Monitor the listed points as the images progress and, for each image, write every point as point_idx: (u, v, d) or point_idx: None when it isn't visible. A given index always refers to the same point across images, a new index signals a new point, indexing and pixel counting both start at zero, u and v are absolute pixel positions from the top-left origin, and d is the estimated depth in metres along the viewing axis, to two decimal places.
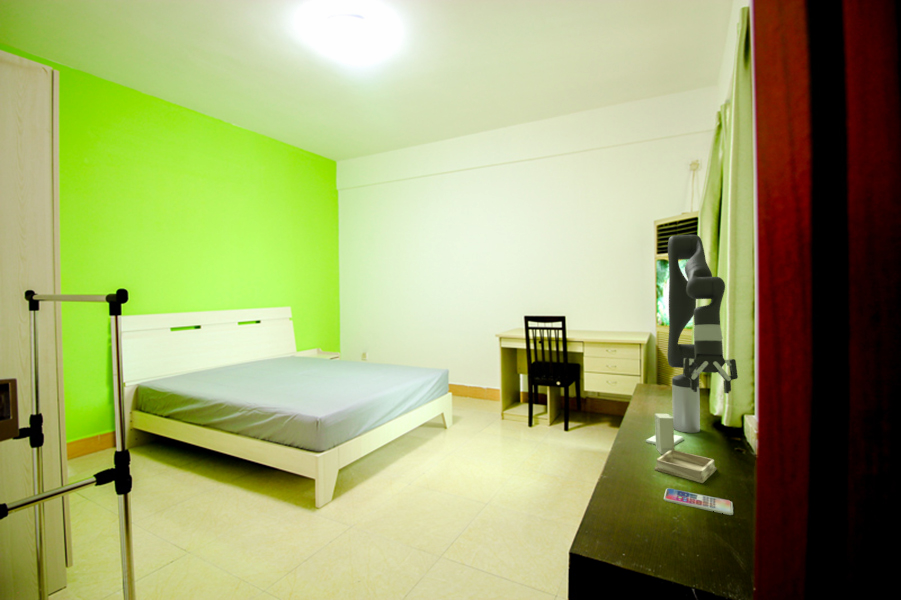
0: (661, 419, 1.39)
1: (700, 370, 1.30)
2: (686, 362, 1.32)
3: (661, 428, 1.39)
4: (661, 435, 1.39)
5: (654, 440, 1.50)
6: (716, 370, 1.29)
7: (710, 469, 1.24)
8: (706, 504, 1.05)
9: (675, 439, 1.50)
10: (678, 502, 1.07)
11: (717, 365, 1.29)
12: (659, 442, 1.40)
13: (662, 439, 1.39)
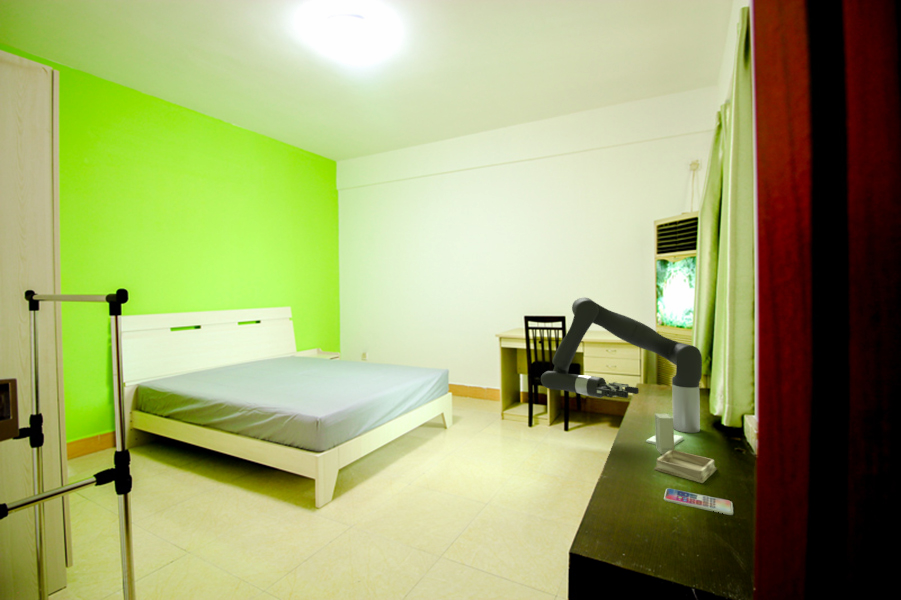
0: (661, 419, 1.39)
1: None
2: None
3: (661, 428, 1.39)
4: (661, 435, 1.39)
5: (654, 440, 1.50)
6: None
7: (710, 469, 1.24)
8: (707, 504, 1.05)
9: (675, 439, 1.51)
10: (678, 502, 1.07)
11: (608, 395, 1.54)
12: (659, 442, 1.40)
13: (662, 439, 1.39)
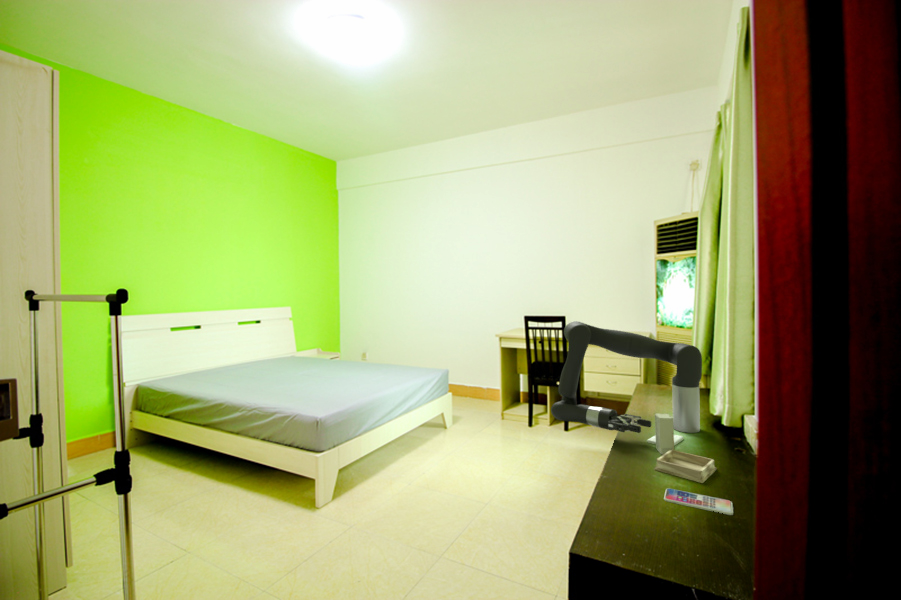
0: (661, 419, 1.39)
1: None
2: None
3: (661, 428, 1.39)
4: (661, 435, 1.39)
5: (655, 440, 1.50)
6: None
7: (710, 469, 1.24)
8: (707, 504, 1.05)
9: (675, 439, 1.51)
10: (678, 502, 1.06)
11: None
12: (659, 442, 1.40)
13: (662, 439, 1.39)
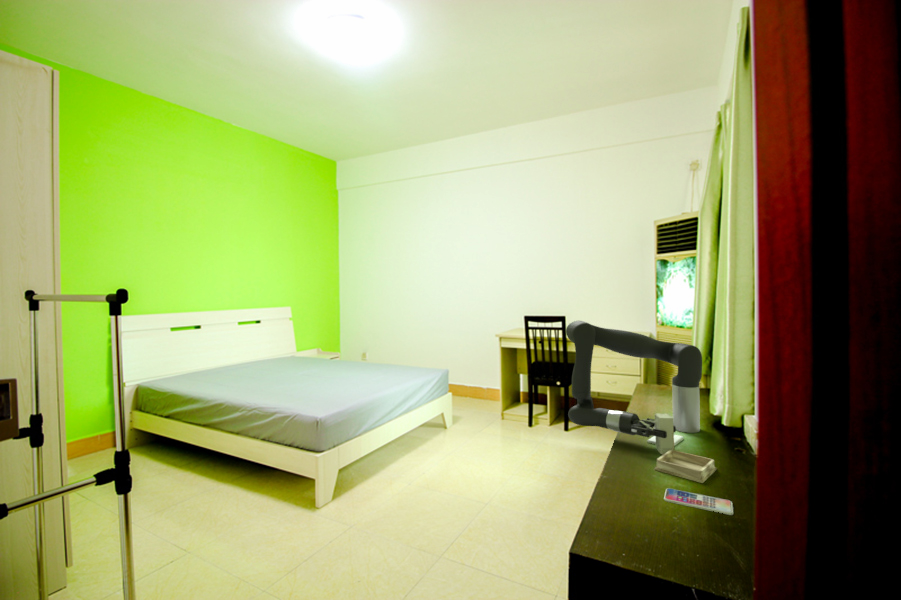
0: (661, 419, 1.39)
1: None
2: None
3: (661, 428, 1.39)
4: None
5: (655, 440, 1.50)
6: None
7: (710, 469, 1.24)
8: (707, 504, 1.05)
9: (676, 439, 1.51)
10: (678, 502, 1.06)
11: None
12: (659, 442, 1.40)
13: (662, 439, 1.39)
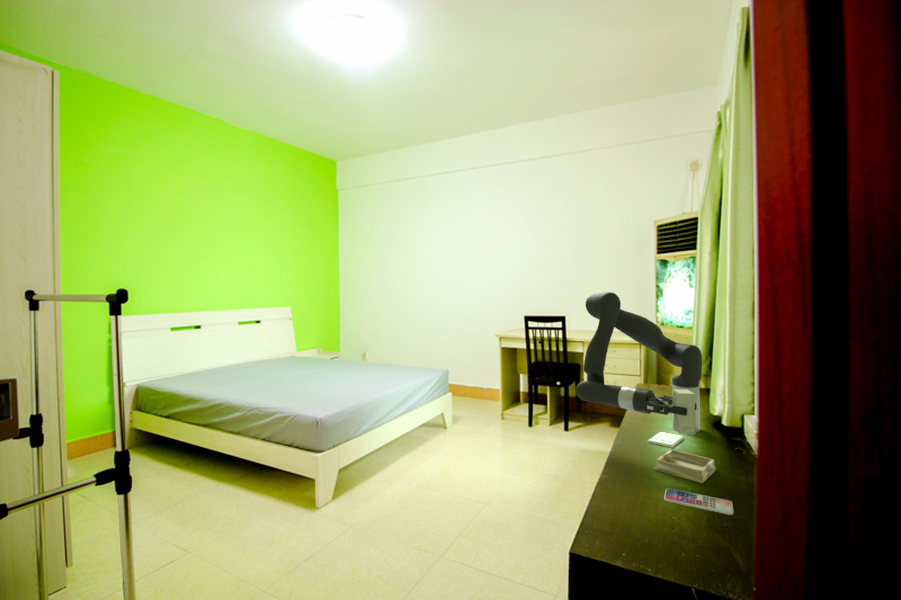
0: (681, 395, 1.24)
1: None
2: None
3: (681, 405, 1.24)
4: None
5: (656, 440, 1.50)
6: None
7: (710, 469, 1.24)
8: (707, 504, 1.05)
9: (676, 439, 1.51)
10: (678, 502, 1.06)
11: None
12: (678, 420, 1.25)
13: (682, 417, 1.24)
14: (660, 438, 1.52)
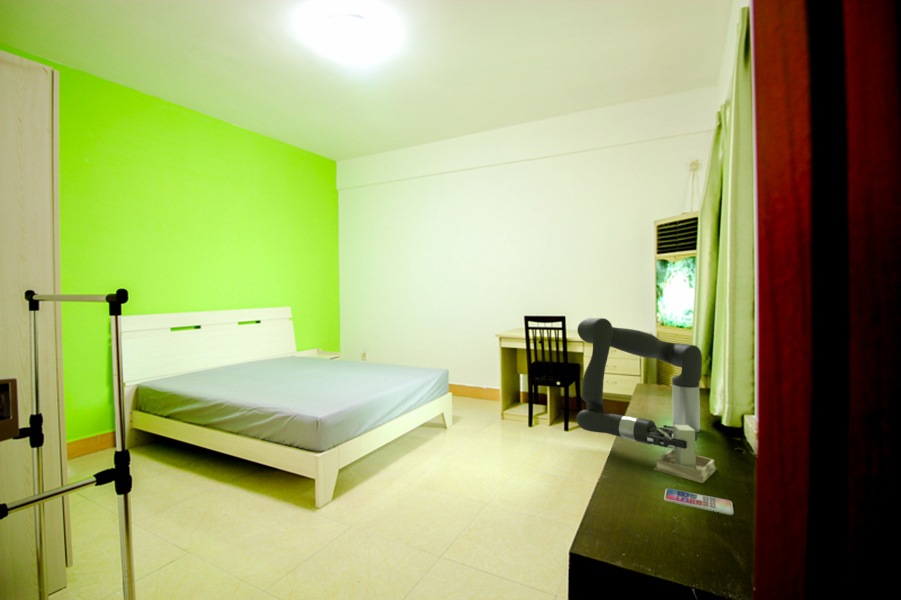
0: (681, 431, 1.24)
1: None
2: None
3: None
4: (681, 449, 1.24)
5: None
6: None
7: (710, 469, 1.24)
8: (707, 504, 1.05)
9: None
10: (678, 502, 1.06)
11: (660, 442, 1.30)
12: (679, 457, 1.25)
13: (683, 454, 1.24)
14: None
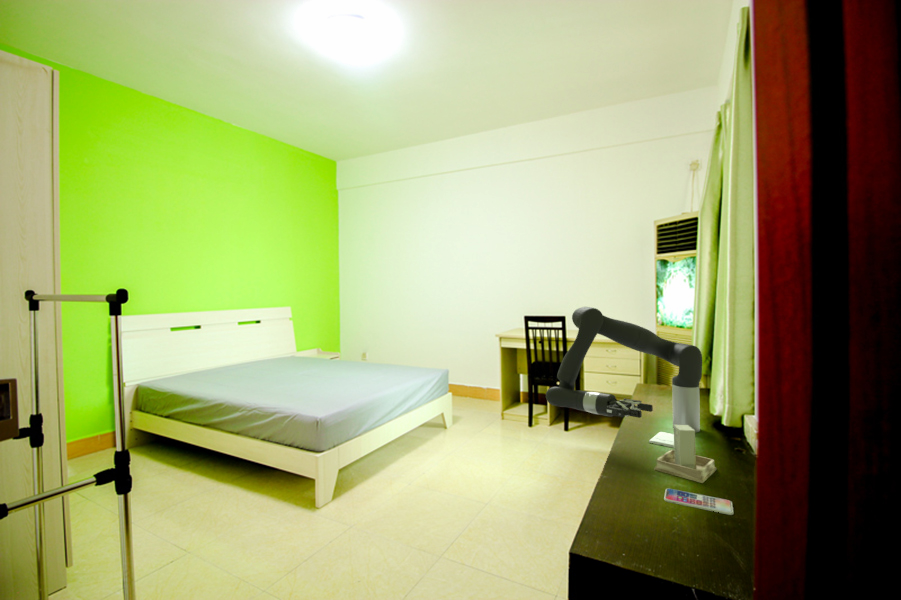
0: (681, 431, 1.24)
1: None
2: None
3: (681, 441, 1.24)
4: (681, 449, 1.24)
5: (657, 440, 1.50)
6: None
7: (710, 469, 1.24)
8: (707, 504, 1.05)
9: None
10: (678, 502, 1.06)
11: (619, 413, 1.41)
12: (679, 457, 1.25)
13: (682, 454, 1.24)
14: (661, 438, 1.52)
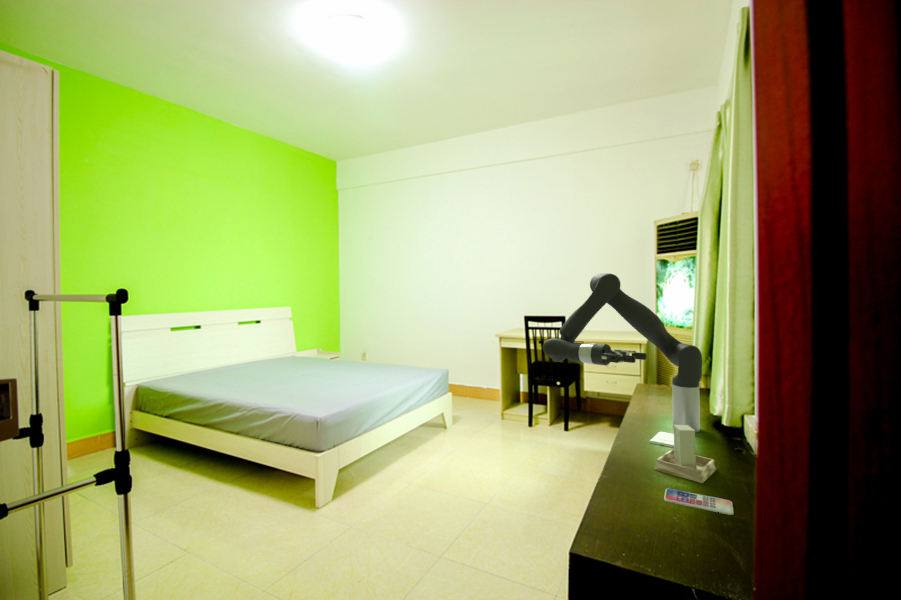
0: (681, 431, 1.24)
1: None
2: None
3: (681, 441, 1.24)
4: (681, 449, 1.24)
5: (658, 440, 1.50)
6: None
7: (710, 469, 1.24)
8: (707, 504, 1.05)
9: None
10: (678, 502, 1.06)
11: None
12: (679, 457, 1.25)
13: (682, 454, 1.24)
14: (661, 438, 1.52)
